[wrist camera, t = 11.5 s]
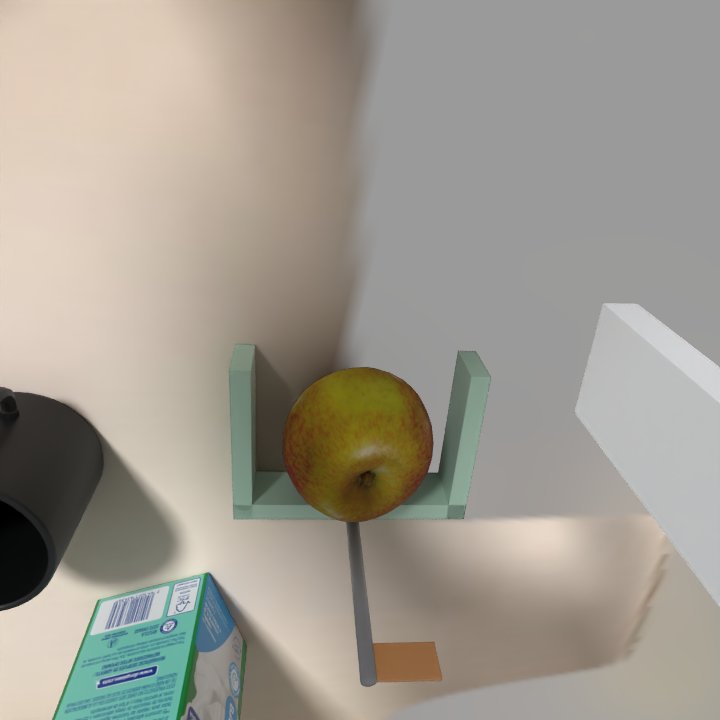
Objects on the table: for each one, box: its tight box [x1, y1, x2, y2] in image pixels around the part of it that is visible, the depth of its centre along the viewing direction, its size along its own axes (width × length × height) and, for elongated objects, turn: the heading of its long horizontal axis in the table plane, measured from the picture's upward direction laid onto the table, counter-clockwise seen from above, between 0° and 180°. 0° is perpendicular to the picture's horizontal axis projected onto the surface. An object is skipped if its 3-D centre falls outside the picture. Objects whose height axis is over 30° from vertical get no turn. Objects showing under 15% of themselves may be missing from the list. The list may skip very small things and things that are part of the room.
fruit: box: [283, 367, 433, 522], centre depth 36 cm, size 10×9×8 cm
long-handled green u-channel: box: [229, 344, 491, 687], centre depth 33 cm, size 11×15×16 cm
